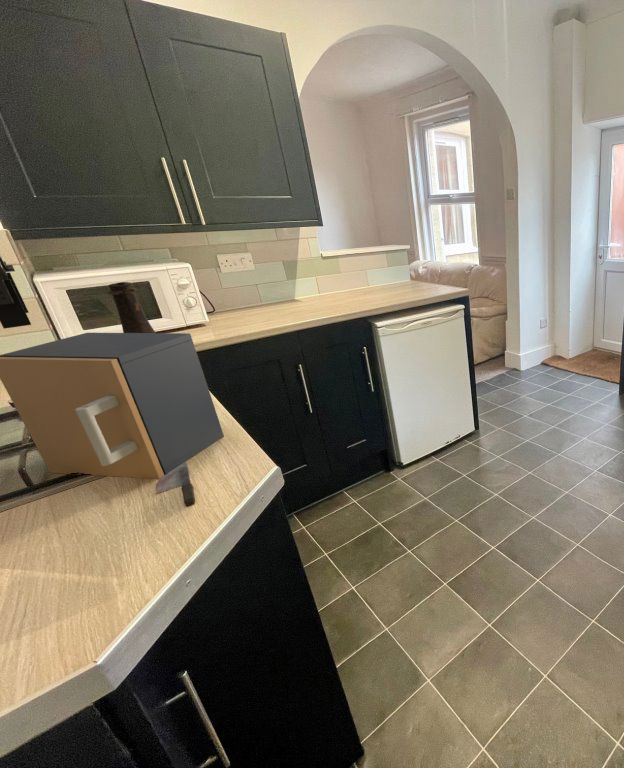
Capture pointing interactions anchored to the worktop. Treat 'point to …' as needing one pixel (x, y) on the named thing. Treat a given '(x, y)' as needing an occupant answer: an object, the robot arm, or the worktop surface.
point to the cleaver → (178, 483)
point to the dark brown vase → (129, 309)
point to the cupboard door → (80, 415)
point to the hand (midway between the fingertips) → (17, 320)
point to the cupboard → (153, 386)
